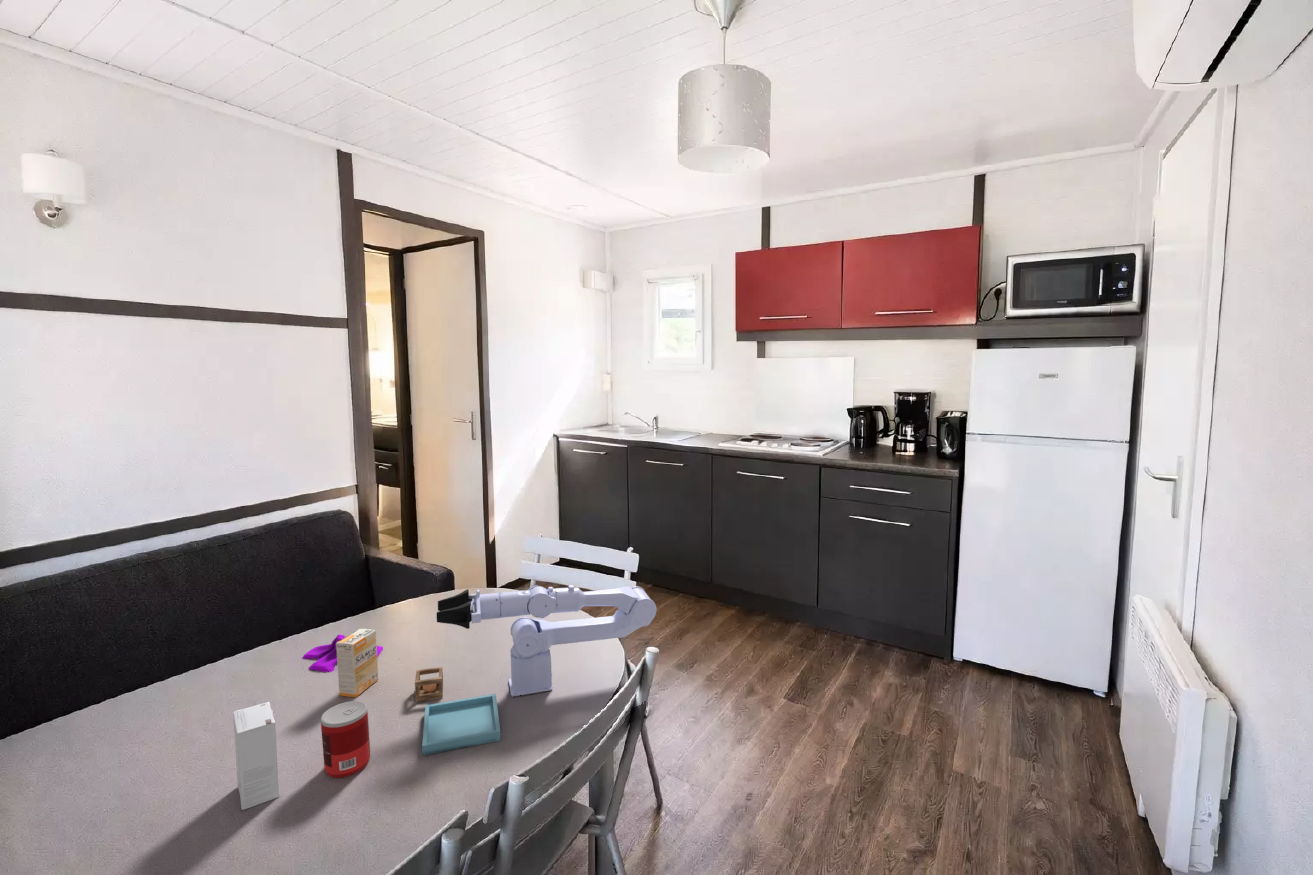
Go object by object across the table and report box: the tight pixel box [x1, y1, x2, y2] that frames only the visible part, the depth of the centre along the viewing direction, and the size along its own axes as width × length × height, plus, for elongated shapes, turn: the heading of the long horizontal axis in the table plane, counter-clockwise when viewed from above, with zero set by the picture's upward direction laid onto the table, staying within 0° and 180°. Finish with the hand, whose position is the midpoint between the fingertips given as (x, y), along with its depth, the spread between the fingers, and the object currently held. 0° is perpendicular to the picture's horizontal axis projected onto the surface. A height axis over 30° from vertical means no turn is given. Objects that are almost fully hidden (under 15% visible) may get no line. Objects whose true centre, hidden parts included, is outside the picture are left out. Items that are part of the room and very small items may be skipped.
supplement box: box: [336, 628, 379, 698], centre depth 143 cm, size 8×5×13 cm, turn 168°
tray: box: [421, 693, 501, 756], centre depth 128 cm, size 15×15×2 cm
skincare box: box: [232, 701, 280, 811], centre depth 108 cm, size 8×6×15 cm
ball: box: [423, 684, 436, 693], centre depth 141 cm, size 3×3×3 cm
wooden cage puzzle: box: [414, 666, 444, 703], centre depth 141 cm, size 6×6×5 cm
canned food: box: [320, 700, 371, 779], centre depth 115 cm, size 8×8×11 cm
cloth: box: [301, 633, 384, 673], centre depth 161 cm, size 22×19×6 cm
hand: (437, 611), depth 136 cm, fingers open, 7 cm apart
